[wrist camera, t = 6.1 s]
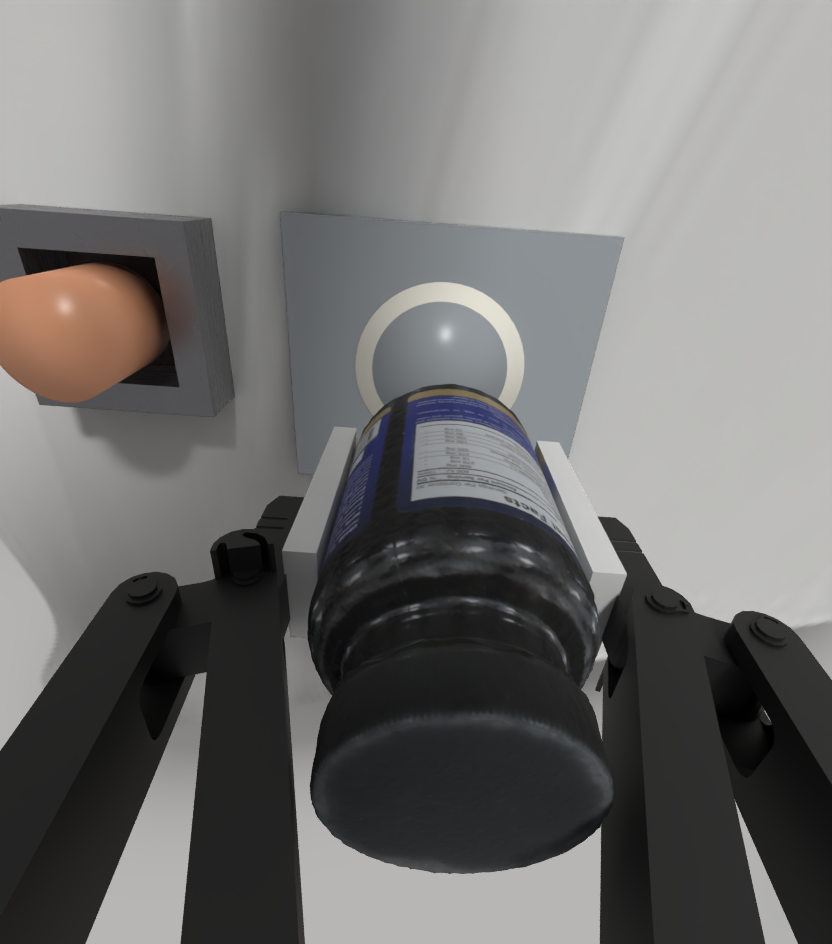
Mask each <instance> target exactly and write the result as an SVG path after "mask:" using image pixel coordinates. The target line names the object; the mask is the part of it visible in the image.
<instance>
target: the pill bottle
mask: <svg viewBox="0 0 832 944" xmlns="http://www.w3.org/2000/svg"><path fill="white" fill-rule="evenodd" d="M594 599H595V596H594V593H593V590H592V588H591V586H590V584H589V582H588V580H587V578H586V576H585V573H584V571H583V569H582V566H581V564H580V561H579V558H578V556H577V554H576V552H575V549H574V546H573V544H572V542H571V540H570V537H569V535H568V533H567V531H566V528H565V526H564V523H563V521H562V518H561V516H560V514H559V511H558V509H557V506H556V504H555V501H554V499H553V496H552V494H551V491H550V489H549V487H548V484H547V482H546V479H545V477H544V474H543V472H542V469H541V467H540V464H539V462H538V459H537V457H536V455H535V452H534V450H533V447H532V445H531V442H530V440H529V437H528V435H527V433H526V431H525V429H524V427H523V426H522V424H521V422H520V421H519V419H518V418H517V416H516V415H515V414H514V412H513V411H511V410H510V409H509V408H508V407H506V406H505V405H504V404H503V403H502V402H501V401H499V400H498V399H497V398H495V397H493V396H491V395H489V394H487V393H485V392H482V391H480V390H477V389H474V388H470V387H466V386H462V385H457V384H442V385H431V386H425V387H421V388H419V389H417V390H414V391H412V392H408V393H406V394H404V395H402V396H400V397H397V398H395V399H393V400H391V401H390V402H389V403H387V404H386V405H384V406H383V407H382V408H381V409H380V410H379V411H378V412H377V413H376V414H375V415H374V416H373V417H372V418H371V420H370V421H369V423H368V425H367V426H366V427H365V428H364V429H363V432H362V435H361V437H360V439H359V442H358V444H357V447H356V450H355V454H354V457H353V461H352V465H351V468H350V471H349V475H348V478H347V481H346V484H345V488H344V492H343V495H342V498H341V502H340V506H339V508H338V511H337V515H336V519H335V522H334V526H333V529H332V532H331V534H330V540H329V543H328V547H327V550H326V553H325V557H324V560H323V564H322V567H321V571H320V574H319V578H318V581H317V584H316V587H315V590H314V593H313V596H312V598H311V602H310V608H309V614H308V631H307V635H308V642H309V647H310V651H311V656H312V660H313V662H314V664H315V668H316V670H317V672H318V674H319V676H320V678H321V680H322V683H323V684H324V685H325V687H326V689H327V690H328V691H329V693H330V694H331V695H332V698H331V700H330V701H329V703H328V705H327V708H326V711H325V713H324V716H323V718H322V721H321V724H320V729H319V734H318V738H317V748H316V754H315V758H314V762H313V767H312V774H311V782H310V794H311V800H312V805H313V807H314V809H315V813H316V815H317V817H318V818H319V820H320V821H321V822H322V823H323V824H324V825H325V826H326V827H327V829H328V830H329V831H330V832H331V834H332V835H333V836H334V837H336V838H338V839H340V840H341V841H342V842H343V843H344V844H345V845H347V846H349V847H351V848H353V849H355V850H357V851H358V852H360V853H363V854H365V855H367V856H369V857H372V858H375V859H378V860H380V861H383V862H385V863H391V864H394V865H397V866H400V867H408V868H410V869H418V870H424V871H429V872H433V873H449V874H451V873H460V874H465V873H479V872H495V871H502V870H508V869H513V868H520V867H526V866H529V865H531V864H535V863H538V862H542V861H544V860H547V859H549V858H552V857H555V856H558V855H560V854H563V853H565V852H567V851H569V850H570V849H572V848H573V847H575V846H577V845H578V844H580V843H582V842H583V841H585V840H586V839H587V838H588V837H589V836H590V835H592V834H593V833H594V832H595V831H596V830H597V829H598V828H600V826H601V822H602V820H603V819H604V818H605V817H606V816H608V814H609V810H610V809H611V807H612V802H613V799H614V796H613V794H614V786H613V776H612V772H611V769H610V766H609V763H608V760H607V757H606V754H605V751H604V747H603V743H602V739H601V736H600V732H599V728H598V723H597V719H596V715H595V712H594V710H593V707H592V706H591V704H590V702H589V699H588V697H587V696H586V694H585V693H584V692H582V691H581V688H582V687H583V686H584V684H585V681H586V679H588V677H589V674H590V672H591V671H592V669H593V665H594V661H595V658H596V654H597V651H598V644H599V635H600V630H599V614H598V611H597V606H596V603H595V601H594Z"/></svg>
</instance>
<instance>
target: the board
mask: <svg viewBox="0 0 832 944" xmlns="http://www.w3.org/2000/svg"><path fill="white" fill-rule="evenodd" d="M280 222H281V236H282V250H283V265H284V279H285V293H286V308H287V322H288V336H289V351H290V365H291V379H292V394H293V408H294V423H295V437H296V451H297V466H298V473H302V474H315V471H316V469H317V466H318V464H319V462H320V459H321V457H322V455H323V452H324V450H325V448H326V445H327V443H328V440H329V438H330V436H331V433H332V431H333V429H334V426H336V427H350V428H357V444H358V442H359V439H360V437H361V435H362V432H363V429H364V428H365V427H366V426H367V425H368V423H369V421H370V420H371V418H372V417H373V416H374V415H375V414H376V413H377V412H378V411H379V410H380V409H381V408H382V407H383V406H384V405H386V404H387V403H389V402H390V401H391V400H393V399H395V398H397V397H400V396H402V395H404V394H406V393H408V392H412V391H414V390H417V389H419V388H421V387H425V386H431V385H442V384H457V385H462V386H466V387H470V388H474V389H477V390H480V391H482V392H485V393H487V394H489V395H491V396H493V397H495V398H497V399H498V400H499V401H501V402H502V403H503V404H504V405H505V406H506V407H508V408H509V409H510V410H511V411H513V412H514V414H515V415H516V416H517V418H518V419H519V421H520V422H521V424H522V426H523V427H524V429H525V431H526V433H527V435H528V437H529V440H530V442H531V445H532V447H533V450H534V451H535V447H536V442H537V441H549V442H559V443H560V445H561V447H562V449H563V451H564V453H565V455H566V457H567V459H568V457H569V453H570V449H571V445H572V442H573V438H574V434H575V430H576V426H577V422H578V418H579V414H580V410H581V406H582V402H583V398H584V394H585V391H586V387H587V383H588V379H589V375H590V371H591V367H592V363H593V359H594V355H595V351H596V347H597V343H598V340H599V336H600V332H601V328H602V324H603V320H604V316H605V312H606V308H607V304H608V300H609V296H610V292H611V289H612V285H613V281H614V277H615V273H616V269H617V265H618V261H619V257H620V253H621V249H622V245H623V242H624V237H620V236H606V235H593V234H579V233H565V232H552V231H538V230H525V229H511V228H497V227H484V226H470V225H457V224H443V223H429V222H416V221H402V220H389V219H375V218H362V217H348V216H334V215H321V214H307V213H294V212H280Z"/></svg>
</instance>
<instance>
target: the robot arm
mask: <svg viewBox="0 0 832 944" xmlns="http://www.w3.org/2000/svg"><path fill="white" fill-rule="evenodd" d="M356 447H357V428H350V427H336V426H334V429H333V431H332V433H331V436H330V438H329V440H328V443H327V445H326V448H325V450H324V452H323V455H322V457H321V459H320V462H319V464H318V466H317V469H316V471H315V474H314V476H313V478H312V481H311V483H310V485H309V488H308V490H307V493H306V495H305V497H291V496H279V497H277V498H276V499H275V500H274V501H272V502H271V503H270V504H268V505H267V507H266V509H265V511H264V513H263V514H262V516H261V519H260V520H259V522H258V524H257V526H256V528H255V529H242V530H238V531H233V532H230V533H228V534H226V535H224V536H222V537H220V538H219V539H218V540H217V541H216V542H215V543H214V544H213V546H212V548H211V550H210V553H211V558H212V563H213V569H214V574H215V579H213V580H211V581H207V582H202V583H197V584H191V585H185V586H179V587H178V585H177V582H176V580H175V578H174V577H172V576H170V575H169V574H167V573H160V572H151V573H144V574H140V575H137V576H134V577H131V578H130V579H128V580H126V581H125V582H123V583H121V584H120V585H119V586H118V587H117V588H116V589H115V590H114V591H113V592H112V593H111V594H110V596H109V597H108V599H107V600H106V601H105V603H104V604H103V606H102V607H101V609H100V610H99V611H98V613H97V614H96V616H95V617H94V618H93V620H92V621H91V623H90V624H89V626H88V627H87V628H86V630H85V631H84V633H83V634H82V636H81V637H80V638H79V640H78V641H77V643H76V644H75V645H74V647H73V648H72V650H71V651H70V653H69V654H68V655H67V657H66V658H65V660H64V661H63V663H62V664H61V665H60V667H59V668H58V670H57V671H56V672H55V674H54V675H53V677H52V678H51V680H50V681H49V682H48V684H47V685H46V687H45V688H44V690H43V691H42V692H41V694H40V695H39V697H38V698H37V700H36V701H35V703H34V704H33V705H32V707H31V708H30V710H29V711H28V712H27V714H26V715H25V717H24V718H23V719H22V721H21V722H20V724H19V725H18V727H17V728H16V729H15V731H14V732H13V734H12V735H11V736H10V738H9V739H8V741H7V742H6V744H5V745H4V747H3V748H2V749H1V751H0V944H85V943H86V941H87V938H88V936H89V933H90V931H91V929H92V926H93V924H94V921H95V919H96V916H97V914H98V911H99V909H100V907H101V904H102V902H103V899H104V897H105V894H106V892H107V889H108V887H109V885H110V882H111V880H112V877H113V875H114V872H115V870H116V867H117V865H118V863H119V860H120V857H121V855H122V853H123V850H124V848H125V846H126V843H127V840H128V838H129V836H130V833H131V831H132V828H133V826H134V824H135V821H136V819H137V816H138V813H139V811H140V809H141V806H142V804H143V802H144V799H145V797H146V794H147V792H148V789H149V787H150V784H151V782H152V780H153V777H154V775H155V772H156V770H157V767H158V765H159V762H160V760H161V758H162V755H163V753H164V750H165V748H166V745H167V743H168V740H169V738H170V736H171V733H172V731H173V728H174V726H175V723H176V721H177V719H178V716H179V714H180V711H181V709H182V706H183V704H184V701H185V699H186V697H187V694H188V692H189V689H190V687H191V684H192V682H193V679H194V677H195V675H196V674H199V673H204V672H207V675H206V686H205V696H204V706H203V717H202V727H201V737H200V738H201V739H200V748H199V758H198V769H197V779H196V780H197V781H196V789H195V800H194V811H193V821H192V832H191V841H190V852H189V863H188V872H187V873H188V874H187V883H186V893H185V904H184V914H183V924H182V935H181V944H305V938H304V925H303V924H304V923H303V909H302V893H301V879H300V864H299V850H298V834H297V819H296V804H295V790H294V774H293V759H292V744H291V731H290V715H289V699H288V684H287V669H286V655H285V643H284V636H285V633H286V630H287V627H288V624H289V629H290V637H302V638H308V635H307V631H308V614H309V608H310V602H311V598H312V596H313V593H314V590H315V587H316V584H317V581H318V578H319V574H320V571H321V567H322V564H323V560H324V557H325V553H326V550H327V547H328V543H329V540H330V534H331V532H332V529H333V526H334V522H335V519H336V515H337V511H338V508H339V506H340V502H341V498H342V495H343V492H344V488H345V484H346V481H347V478H348V475H349V471H350V468H351V465H352V461H353V457H354V454H355V450H356ZM534 452H535V455H536V457H537V459H538V462H539V464H540V467H541V469H542V472H543V474H544V477H545V479H546V482H547V484H548V487H549V489H550V491H551V494H552V496H553V499H554V501H555V504H556V506H557V509H558V511H559V514H560V516H561V518H562V521H563V523H564V526H565V528H566V531H567V533H568V535H569V537H570V540H571V542H572V544H573V546H574V549H575V552H576V554H577V556H578V558H579V561H580V564H581V566H582V569H583V571H584V573H585V576H586V578H587V580H588V582H589V584H590V586H591V588H592V590H593V593H594V596H595V599H594V601H595V603H596V606H597V611H598V614H599V630H600V635H599V644H598V651H599V648H600V646H601V643H602V641H603V644H604V647H605V649H606V652H607V654H608V657H607V660H606V662H605V665H604V667H603V670H602V673H601V675H600V678H599V680H598V683H597V686H596V691H599V692H600V690H601V688H602V685H603V725H602V726H603V727H602V729H603V730H602V743H603V747H604V751H605V754H606V757H607V760H608V763H609V766H610V769H611V772H612V776H613V786H614V794H613V796H614V799H613V802H612V807H611V809H610V810H609V814H608V816H606V817H605V818H604V819H603V820H602V822H601V893H600V895H601V896H600V903H601V904H600V944H765V940H764V936H763V931H762V926H761V921H760V917H759V912H758V907H757V903H756V898H755V893H754V889H753V884H752V879H751V875H750V870H749V866H748V860H747V856H746V851H745V846H744V842H743V838H742V833H741V828H740V823H739V819H738V814H737V809H736V804H735V801H736V803H737V806H738V808H739V810H740V812H741V815H742V817H743V819H744V822H745V824H746V826H747V828H748V831H749V833H750V835H751V837H752V840H753V842H754V844H755V846H756V848H757V851H758V853H759V856H760V858H761V860H762V862H763V865H764V867H765V869H766V871H767V874H768V876H769V878H770V881H771V883H772V885H773V888H774V890H775V892H776V894H777V897H778V899H779V901H780V904H781V906H782V908H783V910H784V912H785V915H786V917H787V919H788V922H789V924H790V926H791V929H792V931H793V933H794V935H795V938H796V940H797V942H798V944H832V680H831V679H830V677H829V676H828V675H827V673H826V672H825V671H824V669H823V668H822V667H821V665H820V664H819V663H818V661H817V660H816V659H815V657H814V656H813V655H812V653H811V652H810V651H809V649H808V648H807V647H806V645H805V644H804V643H803V641H802V640H801V639H800V637H799V636H798V635H797V634H796V633H795V632H794V631H793V630H792V629H791V628H790V627H788V626H787V625H785V624H784V623H782V622H781V621H779V620H777V619H775V618H773V617H771V616H768V615H766V614H763V613H759V612H755V611H742V612H740V613H738V614H736V615H735V617H734V618H733V620H732V622H731V624H730V623H727V622H723V621H720V620H716V619H713V618H710V617H706V616H703V615H700V614H697V613H695V612H694V610H693V608H692V606H691V604H690V603H689V602H688V601H687V600H686V599H685V598H684V597H683V596H682V595H680V594H679V593H677V592H676V591H674V590H672V589H670V588H667V587H665V586H662V584H661V582H660V581H659V579H658V577H657V576H656V574H655V572H654V571H653V569H652V567H651V566H650V564H649V562H648V560H647V559H646V557H645V555H644V554H642V550H641V549H640V547H639V545H638V544H637V543H636V540H635V539H634V537H633V535H632V533H631V532H630V530H629V529H628V528H627V527H626V526H625V525H623V524H622V523H621V522H620V521H619V520H617V519H616V518H611V517H597V515H596V513H595V511H594V509H593V507H592V505H591V503H590V501H589V499H588V497H587V496H586V494H585V492H584V490H583V488H582V486H581V484H580V482H579V480H578V478H577V476H576V474H575V472H574V470H573V468H572V466H571V465H570V463H569V461H568V459H567V457H566V455H565V453H564V451H563V449H562V447H561V445H560V443H559V442H549V441H537V442H536V447H535V451H534ZM598 651H597V654H598ZM597 654H596V656H597ZM764 710H765V711H766V713H767V715H768V717H769V718H770V720H771V721H770V720H769V719H768V717H767V715H766V714H765V712H764ZM734 799H735V800H734Z"/></svg>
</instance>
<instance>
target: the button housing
mask: <svg viewBox="0 0 832 944" xmlns="http://www.w3.org/2000/svg"><path fill="white" fill-rule="evenodd" d="M66 251H74V252H87V253H101V254H115V255H129V256H143V257H154V258H155V263H156V268H157V273H158V278H159V283H160V288H161V294H162V299H163V304H164V309H165V314H166V319H167V325H168V330H169V335H170V340H171V345H172V350H173V356H174V361H175V366H176V367H175V366H161V365H146V366H145V367H143V368H141V369H140V370H138V371H137V372H135V373H133V374H132V375H130V376H128V377H127V378H125V379H123V380H122V381H120V382H118V383H117V384H115V385H113V386H112V387H110V388H108V389H107V390H105V391H103V392H102V393H100V394H98V395H97V396H95V397H93V398H91V399H89V400H86V401H82V402H74V403H73V402H59V401H55V400H51V399H48V398H45V397H42V396H40V395H38V394H36V396H37V399H38V402H39V405H50V406H64V407H78V408H92V409H107V410H121V411H135V412H149V413H163V414H178V415H192V416H206V417H215V416H216V415H217V413H218V412H219V411H220V410H221V409H222V408H223V407H224V406H225V405H226V404H227V403H228V402H229V401H230V400H231V399H232V398H233V397H234V396H235V395H234V387H233V380H232V372H231V365H230V358H229V350H228V343H227V335H226V328H225V320H224V313H223V305H222V298H221V291H220V283H219V276H218V268H217V261H216V253H215V246H214V238H213V231H212V223H211V218H201V217H187V216H173V215H160V214H146V213H132V212H119V211H105V210H92V209H78V208H64V207H51V206H37V205H23V204H16V205H0V282H2V281H5V280H8V279H12V278H17V277H22V276H27V275H32V274H36V273H41V272H46V271H51V270H56V269H61V268H66V267H70V266H69V262H68V258H67V255H66Z"/></svg>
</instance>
